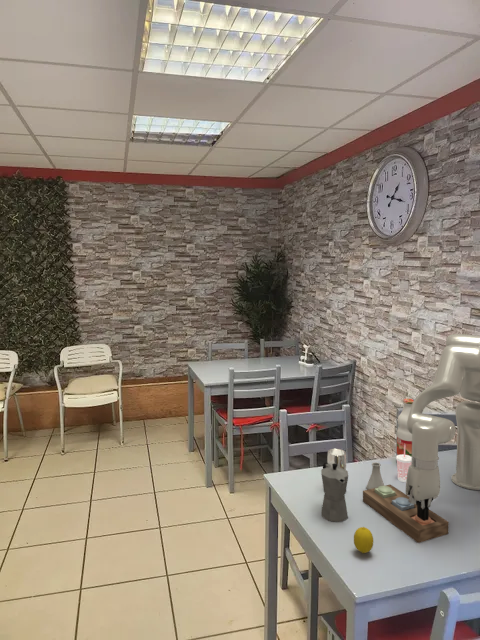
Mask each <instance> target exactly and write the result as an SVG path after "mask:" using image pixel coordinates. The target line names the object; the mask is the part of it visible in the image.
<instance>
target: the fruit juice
mask: <svg viewBox="0 0 480 640" xmlns="http://www.w3.org/2000/svg"><path fill="white" fill-rule="evenodd" d="M414 400H415V398H414V399H413V398H408V397H407V398H404V399H403V400H402V402H403V404H404V405H403V408H402V411H401V412H400V414H399V415H398V417H397V424H398V427H397V431H396V456H397V455H402V454H403V455H404V445H405V455H409V456H411V457H412V434H411V433H410V432H409V431H408V428H407V421H408V416H409V413H410V409H411V406H412V403H413V401H414ZM396 462H397V459H396Z"/></svg>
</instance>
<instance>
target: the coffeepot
mask: <svg viewBox="0 0 480 640" xmlns="http://www.w3.org/2000/svg"><path fill="white" fill-rule="evenodd" d="M332 466H333V467H331V465H330V464H328V463H327V461H325V462H324V463H323V464H322V468H321V470H320V472H321V473H320V474H321V480H322V486H323V488H322V489H323V492H324V495H323V500H322V505H321V511H320V512H321V517H322V519H325V520H326V521H329V522H332V523H334V522H335V523H340V522H345V521H346V520H347V519H348V518H349V517H348V510H347V502H346V497H345V496H346V495H345V494H346V493H347V486H348V480H349V471H348V470H344V469H342V468H340V467H337V464H332Z"/></svg>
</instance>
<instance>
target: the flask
mask: <svg viewBox="0 0 480 640" xmlns="http://www.w3.org/2000/svg"><path fill="white" fill-rule="evenodd" d="M371 466H372V469H371V474H370V477H369V479H368V482H367V484H366V486H365V490H368V489H373V488H377V487H379V486H385V482H384V480H383V478H382V474H381V463H380V462H377V461H376V462H375V461H374V462H371Z"/></svg>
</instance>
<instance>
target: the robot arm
mask: <svg viewBox="0 0 480 640" xmlns="http://www.w3.org/2000/svg"><path fill="white" fill-rule="evenodd" d="M445 345H446V346H445V347H444V348H443V349H442V351H441V355H440V358H439V362H438V366H437V368H436V372H435V376H434V379H433V382H432V384H431V385H429V386H428V387H426V388H425V389H423V390H422V391H421V392H420V393H419V394H418V395H417V396H415V398H414V401H413V403H412V406H411V409H410V413H409V416H408V421H407V428H408V431H409V432H410V433H411V434H412V461H411V465H410V466H409V469H408V473H407V479H406V482H405V494H406V495H408V496H409V500H408V502H410V503H411V504H416V505H417V516H418V517H419V518H420V519H422V520H423V521H425V520H428V518H429V510H430V508H431V507H432V503H433V501H434V500H436V499H437V498H438V497H439V495H440V493H441V475H440V469H439V465H438V462H439V459H440V457H439V445H441V444H445V443H446V444H447V443H449V442H451V440H453V438H455V436H456V430H457V439H456V440H457V441H456V445H457V446H456V462H455V463H456V464H455V465H456V467H455V473H453V474H452V475H451V481H452V482H453V484H455V485H456V486H459V487H461V488H463V489H467V490H474V491H479V490H480V335H477V334H476V335H475V334H464V333H454V334H453V333H452V334H450V335H448V336H447V337H446V341H445ZM458 394H460V396H461V397H462V398H463V399H465V400H464V401H461V402H459V403H458V404H457V405H456V406H455V407H456V408H455V419H456V424H455V423H454V422H453V421H452V420H450V419H448V418H444V417H440V416H436V415H431V414H427V413H423V412H424V409H425V408H426V407H427V406H428V405H429V404H430V403H433V402H434V401H438V400H442V399H445V398H450V397H454V396H456V395H457V396H458ZM466 400H467V401H466ZM456 426H457V429H456Z"/></svg>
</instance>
